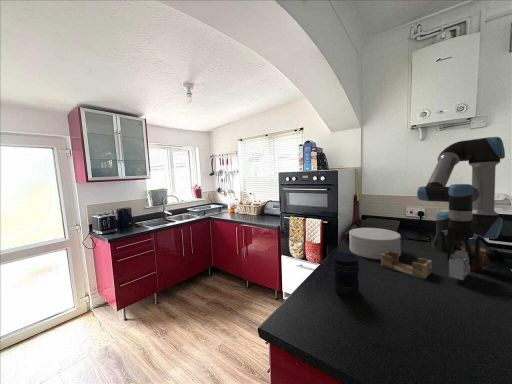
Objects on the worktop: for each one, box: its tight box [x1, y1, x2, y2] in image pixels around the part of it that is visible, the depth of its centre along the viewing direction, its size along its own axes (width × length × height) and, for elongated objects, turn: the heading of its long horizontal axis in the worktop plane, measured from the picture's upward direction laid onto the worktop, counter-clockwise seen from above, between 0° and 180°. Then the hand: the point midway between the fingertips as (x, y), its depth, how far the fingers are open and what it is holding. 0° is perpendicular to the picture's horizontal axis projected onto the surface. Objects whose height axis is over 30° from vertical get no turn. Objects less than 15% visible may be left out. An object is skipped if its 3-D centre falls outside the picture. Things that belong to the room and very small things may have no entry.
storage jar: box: [332, 252, 360, 298], centre depth 88 cm, size 10×10×15 cm
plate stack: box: [348, 227, 402, 260], centre depth 132 cm, size 28×28×12 cm
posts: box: [380, 251, 433, 280], centre depth 106 cm, size 10×19×6 cm, turn 36°
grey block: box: [448, 250, 469, 281], centre depth 94 cm, size 4×14×8 cm, turn 126°
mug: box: [461, 245, 489, 273], centre depth 100 cm, size 12×9×10 cm
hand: (459, 270), depth 94 cm, fingers closed on grey block, 4 cm apart
